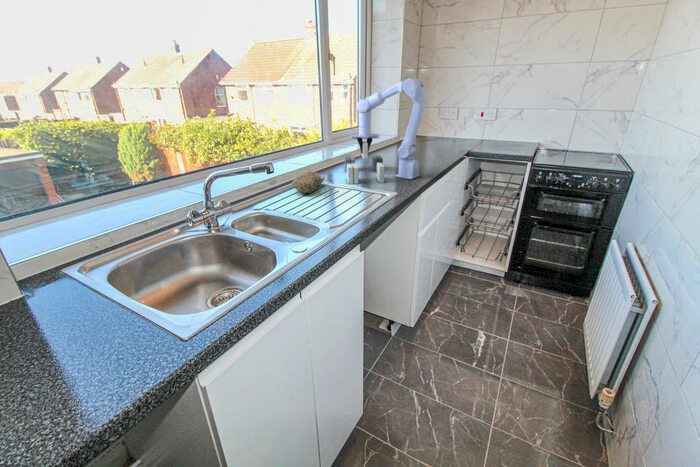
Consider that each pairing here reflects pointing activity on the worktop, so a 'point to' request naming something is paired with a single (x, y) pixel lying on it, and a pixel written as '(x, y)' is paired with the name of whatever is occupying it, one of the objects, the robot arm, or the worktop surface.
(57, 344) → the worktop surface
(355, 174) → the white books
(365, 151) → the white book
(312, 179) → the sponge
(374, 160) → the grey books
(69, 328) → the worktop surface
